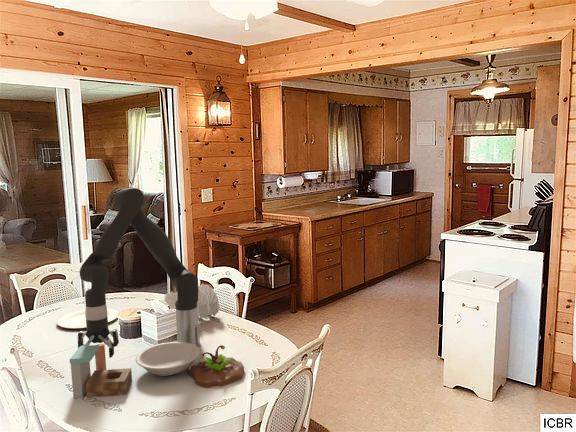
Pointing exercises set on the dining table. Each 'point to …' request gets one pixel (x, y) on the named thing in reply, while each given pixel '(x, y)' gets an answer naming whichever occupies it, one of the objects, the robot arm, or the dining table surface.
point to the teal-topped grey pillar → (81, 368)
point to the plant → (216, 370)
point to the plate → (81, 319)
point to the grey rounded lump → (199, 301)
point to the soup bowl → (168, 357)
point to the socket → (109, 382)
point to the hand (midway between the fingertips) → (99, 357)
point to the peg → (100, 358)
